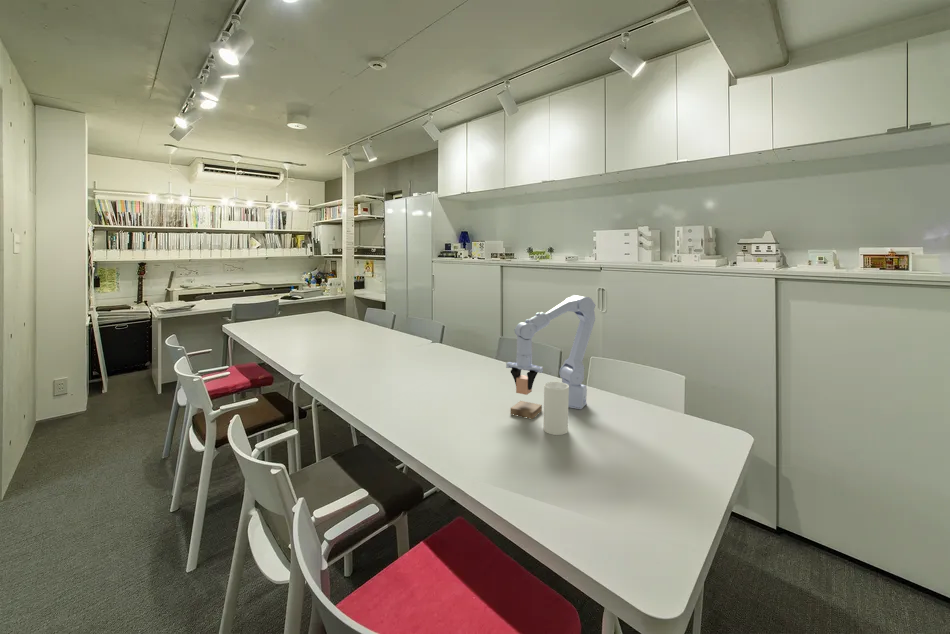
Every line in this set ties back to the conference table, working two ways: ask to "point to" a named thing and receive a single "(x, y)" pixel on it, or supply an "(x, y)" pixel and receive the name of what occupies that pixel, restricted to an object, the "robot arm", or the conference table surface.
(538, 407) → the base slab
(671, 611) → the conference table surface
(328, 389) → the conference table surface
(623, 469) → the conference table surface
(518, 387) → the block
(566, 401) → the cup
